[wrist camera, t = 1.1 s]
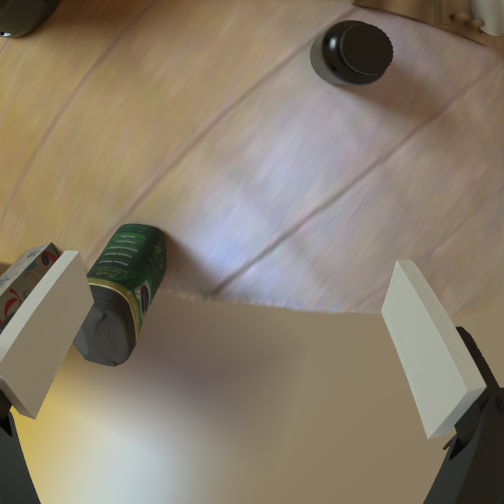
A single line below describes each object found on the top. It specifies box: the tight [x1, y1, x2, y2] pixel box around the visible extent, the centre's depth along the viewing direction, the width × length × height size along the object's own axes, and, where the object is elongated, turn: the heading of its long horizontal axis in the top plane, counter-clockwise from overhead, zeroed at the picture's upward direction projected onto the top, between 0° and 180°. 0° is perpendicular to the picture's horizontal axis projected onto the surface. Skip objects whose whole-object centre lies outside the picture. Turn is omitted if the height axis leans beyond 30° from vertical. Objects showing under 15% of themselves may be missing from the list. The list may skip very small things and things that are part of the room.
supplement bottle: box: [310, 20, 393, 86], centre depth 27 cm, size 7×7×12 cm
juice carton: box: [0, 243, 59, 325], centre depth 37 cm, size 7×7×22 cm
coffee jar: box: [73, 224, 166, 367], centre depth 37 cm, size 10×8×19 cm
